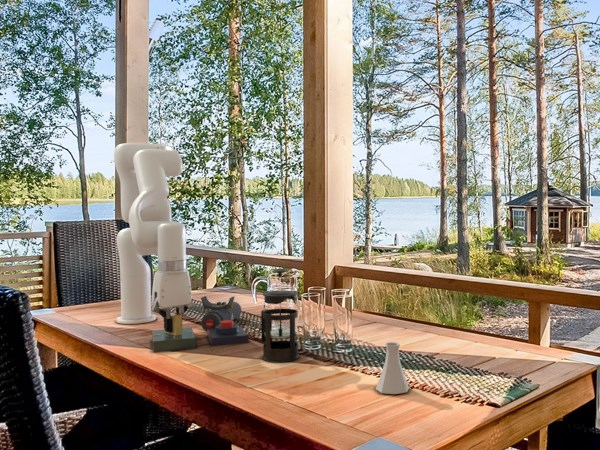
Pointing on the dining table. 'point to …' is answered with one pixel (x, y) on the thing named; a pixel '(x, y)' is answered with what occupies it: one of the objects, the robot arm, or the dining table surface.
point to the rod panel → (173, 340)
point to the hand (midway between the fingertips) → (173, 330)
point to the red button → (226, 323)
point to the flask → (392, 372)
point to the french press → (280, 349)
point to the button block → (227, 335)
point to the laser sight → (219, 312)
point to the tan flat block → (176, 324)
